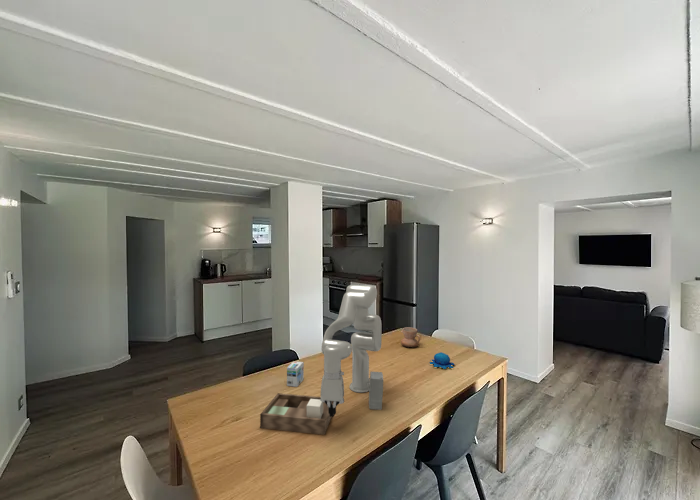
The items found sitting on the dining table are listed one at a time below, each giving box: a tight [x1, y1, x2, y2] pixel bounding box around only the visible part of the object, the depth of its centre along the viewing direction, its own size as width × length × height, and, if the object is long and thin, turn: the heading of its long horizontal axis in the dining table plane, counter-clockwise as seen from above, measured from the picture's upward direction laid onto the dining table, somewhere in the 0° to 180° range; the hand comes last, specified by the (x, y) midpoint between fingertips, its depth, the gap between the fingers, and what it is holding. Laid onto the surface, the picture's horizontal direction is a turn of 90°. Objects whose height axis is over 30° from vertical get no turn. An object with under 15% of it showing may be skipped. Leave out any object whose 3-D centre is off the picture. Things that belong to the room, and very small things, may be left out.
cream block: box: [307, 399, 323, 419], centre depth 131 cm, size 6×6×6 cm
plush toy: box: [429, 352, 456, 370], centre depth 202 cm, size 17×17×8 cm
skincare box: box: [368, 371, 384, 411], centre depth 148 cm, size 8×7×16 cm
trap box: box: [259, 392, 334, 436], centre depth 136 cm, size 29×19×6 cm, turn 81°
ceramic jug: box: [400, 326, 421, 348], centre depth 242 cm, size 18×14×14 cm
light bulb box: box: [286, 360, 305, 388], centre depth 173 cm, size 11×7×11 cm, turn 168°
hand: (332, 415), depth 130 cm, fingers closed
